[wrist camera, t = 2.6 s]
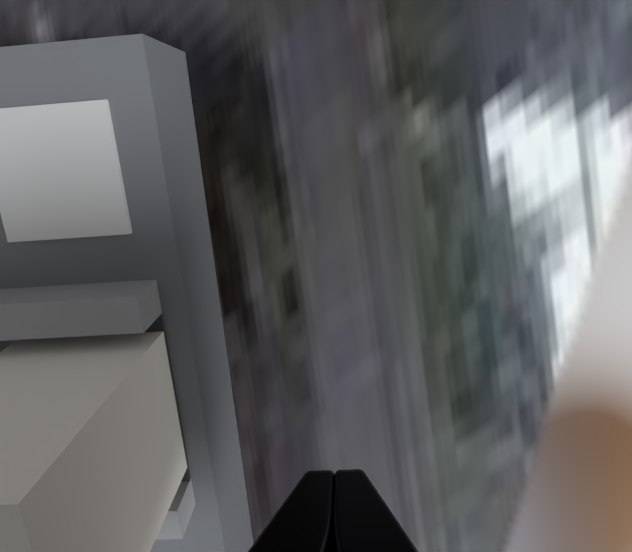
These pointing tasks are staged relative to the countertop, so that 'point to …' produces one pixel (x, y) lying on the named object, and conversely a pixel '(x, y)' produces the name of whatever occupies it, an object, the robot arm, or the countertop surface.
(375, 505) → the robot arm
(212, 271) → the switch board
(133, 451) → the switch tab
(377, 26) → the countertop surface
